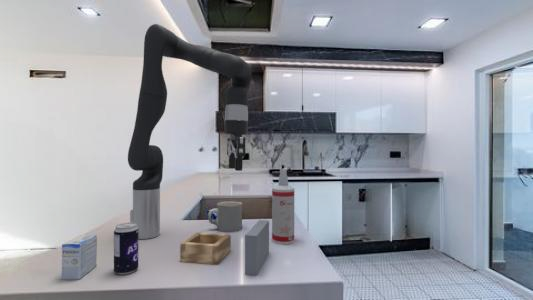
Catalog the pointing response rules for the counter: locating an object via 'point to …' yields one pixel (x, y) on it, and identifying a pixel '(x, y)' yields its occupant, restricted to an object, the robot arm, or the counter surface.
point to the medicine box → (79, 256)
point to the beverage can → (125, 248)
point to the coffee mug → (227, 216)
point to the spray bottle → (283, 211)
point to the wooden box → (205, 248)
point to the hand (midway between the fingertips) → (235, 169)
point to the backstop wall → (256, 247)
